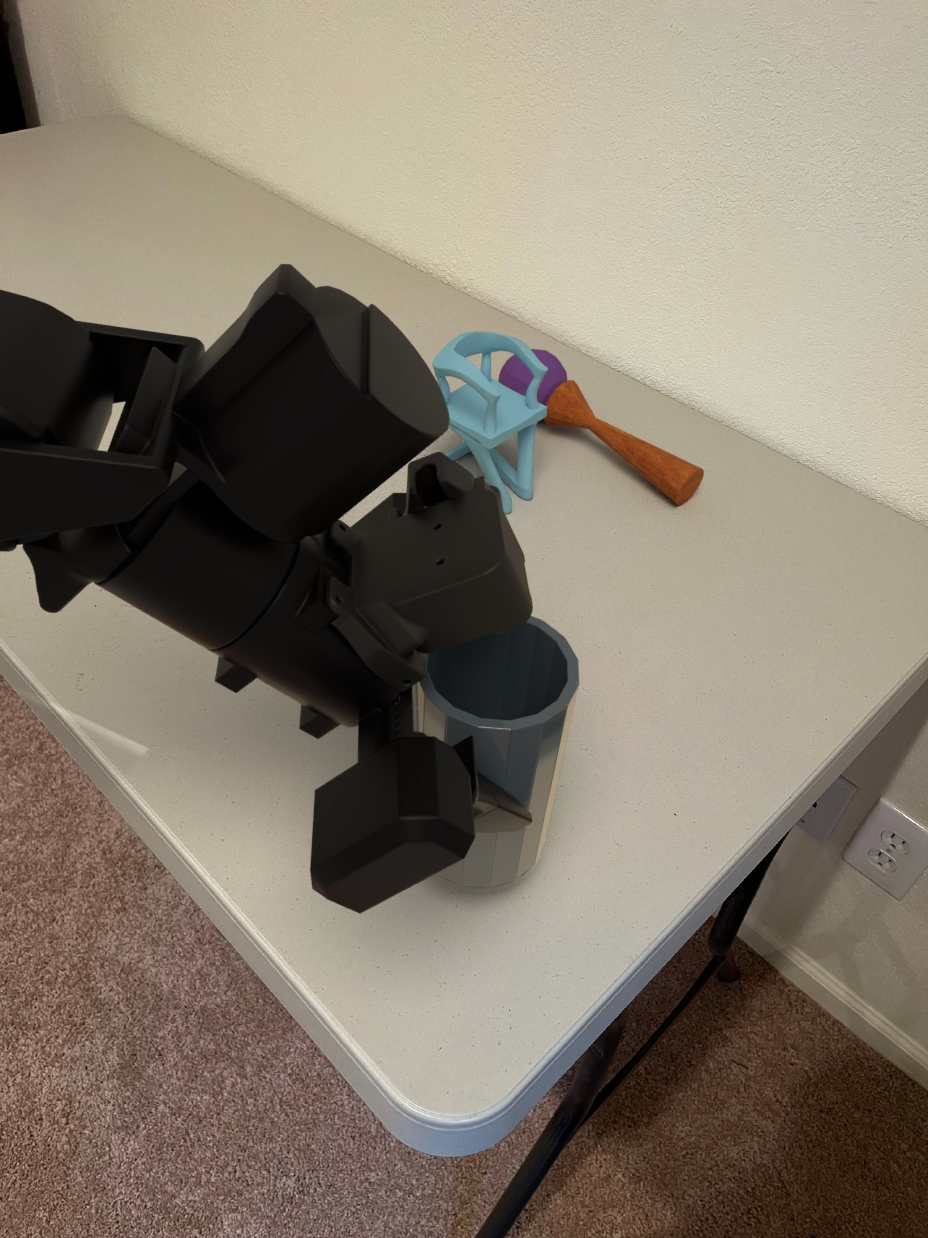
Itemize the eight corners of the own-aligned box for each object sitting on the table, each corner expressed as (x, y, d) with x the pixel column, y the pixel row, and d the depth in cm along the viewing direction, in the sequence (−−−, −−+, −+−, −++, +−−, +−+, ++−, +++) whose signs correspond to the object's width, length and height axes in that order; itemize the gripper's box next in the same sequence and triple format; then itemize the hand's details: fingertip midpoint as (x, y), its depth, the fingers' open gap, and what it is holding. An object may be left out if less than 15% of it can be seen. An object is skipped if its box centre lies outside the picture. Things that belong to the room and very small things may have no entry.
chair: (488, 528, 69) (500, 387, 61) (410, 480, 73) (412, 341, 64) (551, 486, 73) (572, 349, 65) (475, 443, 77) (485, 308, 69)
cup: (387, 860, 46) (386, 689, 37) (447, 762, 50) (460, 589, 41) (511, 918, 44) (542, 753, 35) (562, 812, 48) (601, 641, 39)
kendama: (671, 480, 68) (483, 357, 76) (660, 532, 73) (484, 411, 81) (721, 439, 70) (533, 324, 79) (706, 493, 75) (531, 378, 83)
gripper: (411, 662, 24) (718, 870, 32) (399, 322, 37) (619, 534, 46) (155, 836, 29) (482, 976, 37) (226, 481, 42) (455, 645, 50)
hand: (515, 757), depth 42 cm, fingers closed on cup, 7 cm apart
